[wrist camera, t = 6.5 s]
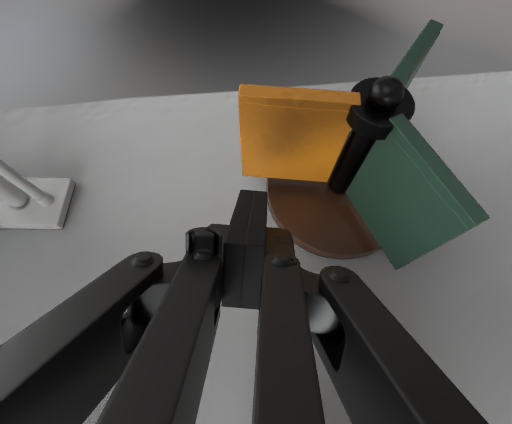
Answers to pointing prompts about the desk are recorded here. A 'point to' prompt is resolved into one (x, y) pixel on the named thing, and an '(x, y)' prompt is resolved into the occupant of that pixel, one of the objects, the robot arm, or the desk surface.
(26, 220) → the test tube rack
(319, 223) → the rack stand
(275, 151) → the three-panel rotating stand
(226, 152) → the desk surface
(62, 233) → the desk surface
